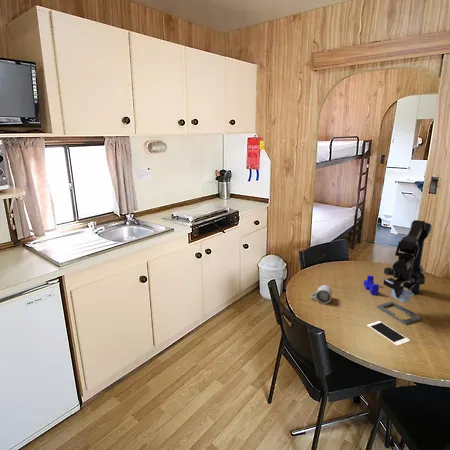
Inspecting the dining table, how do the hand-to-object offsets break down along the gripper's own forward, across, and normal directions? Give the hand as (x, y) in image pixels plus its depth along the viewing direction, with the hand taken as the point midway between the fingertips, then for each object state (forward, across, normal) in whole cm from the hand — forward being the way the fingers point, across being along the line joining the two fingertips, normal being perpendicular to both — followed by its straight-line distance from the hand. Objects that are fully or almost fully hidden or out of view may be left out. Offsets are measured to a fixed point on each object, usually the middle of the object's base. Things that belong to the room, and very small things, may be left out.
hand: (400, 296), depth 151 cm
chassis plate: (+9, 0, 0) cm, 9 cm away
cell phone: (+10, +17, +9) cm, 22 cm away
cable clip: (+10, -6, -23) cm, 26 cm away
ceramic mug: (+9, +25, -26) cm, 37 cm away
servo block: (+1, 0, 0) cm, 1 cm away
